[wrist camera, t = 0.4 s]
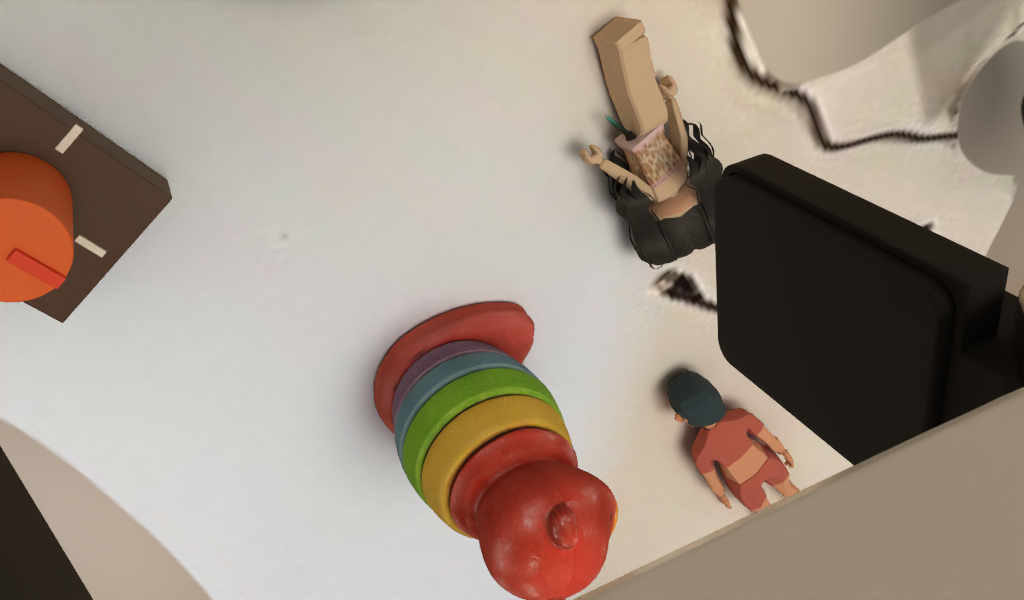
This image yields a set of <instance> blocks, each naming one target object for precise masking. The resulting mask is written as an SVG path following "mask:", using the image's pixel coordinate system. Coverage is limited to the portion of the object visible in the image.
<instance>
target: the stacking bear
mask: <svg viewBox="0 0 1024 600" xmlns="http://www.w3.org/2000/svg"><path fill="white" fill-rule="evenodd" d="M533 336H534V323H533V321H532V319H531V318H530V317H529V316H528V315H527V313H526V312H525V310H524V309H523V308H522V307H521V306H519V305H517V304H514V303H505V302H495V303H483V304H475V305H470V306H466V307H462V308H458V309H455V310H452V311H449V312H447V313H444V314H442V315H439V316H437V317H435V318H433V319H431V320H429V321H427V322H425V323H423V324H421V325H420V326H418V327H417V328H415V329H413V330H412V331H410V332H409V333H408V334H406V335H405V336H404V337H402V338H401V339H400V340H399V341H398V342H397V343H396V344H395V345H394V346H393V347H392V349H391V350H390V351H389V352H388V354H387V355H386V357H385V358H384V360H383V361H382V363H381V366H380V368H379V370H378V373H377V376H376V380H375V386H374V400H375V405H376V408H377V411H378V414H379V416H380V418H381V419H382V421H383V422H384V424H385V425H386V426H387V427H388V428H389V429H390V430H391V431H392V432H393V433H394V434H395V441H396V447H397V451H398V455H399V459H400V462H401V465H402V468H403V470H404V472H405V474H406V475H407V478H408V480H409V481H410V483H411V485H412V486H413V488H414V489H415V491H416V492H417V493H418V495H419V496H420V497H421V498H422V500H423V501H424V502H425V503H426V504H427V505H428V506H429V507H430V508H431V509H432V510H433V511H434V512H435V513H436V514H437V515H438V517H439V518H440V519H441V520H442V521H444V522H445V523H446V524H447V525H448V526H449V527H450V528H452V529H453V530H454V531H456V532H458V533H460V534H462V535H464V536H467V537H470V538H475V539H477V540H479V544H480V548H481V552H482V555H483V559H484V561H485V564H486V566H487V568H488V570H489V572H490V574H491V576H492V577H493V578H494V580H495V581H496V582H497V583H498V584H499V585H500V586H501V587H502V588H504V589H505V590H506V591H508V592H509V593H511V594H513V595H515V596H517V597H519V598H522V599H525V600H565V598H567V597H570V596H572V595H574V594H576V593H578V592H580V591H581V590H583V589H584V588H586V587H587V586H588V585H589V584H590V583H591V582H592V581H593V580H594V579H595V578H596V576H597V575H598V574H599V572H600V570H601V568H602V566H603V564H604V562H605V559H606V555H607V550H608V543H609V539H610V536H611V534H612V532H613V530H614V528H615V526H616V522H617V518H618V506H617V502H616V499H615V497H614V495H613V493H612V492H611V490H610V489H609V487H608V486H607V485H606V484H605V483H604V482H602V481H601V480H600V479H598V478H597V477H595V476H594V475H592V474H590V473H588V472H586V471H583V470H581V469H579V468H578V461H577V456H576V453H575V450H574V449H573V446H572V442H571V439H570V436H569V433H568V431H567V428H566V426H565V424H564V420H563V417H562V414H561V412H560V410H559V408H558V406H557V404H556V402H555V400H554V398H553V396H552V395H551V393H550V392H549V390H548V389H547V387H546V386H545V385H544V384H543V383H542V382H541V381H540V380H539V379H538V378H537V377H536V376H535V375H534V374H533V373H532V372H531V371H529V370H528V369H527V368H526V367H525V366H524V365H522V362H523V361H524V359H525V357H526V356H527V354H528V353H529V351H530V349H531V347H532V344H533Z"/></svg>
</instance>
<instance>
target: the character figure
mask: <svg viewBox="0 0 1024 600" xmlns="http://www.w3.org/2000/svg"><path fill="white" fill-rule="evenodd" d="M668 397H669V401H670V403H671V406H672V408H673V409H674V411H675V412H676V414H675V420H677V421H678V422H683V421H685V423H687V424H689V425H690V426H691V427H702V428H701V429H700V431H699V432H698V434H697V437H696V439H695V441H694V444H693V446H692V448H691V453H692V457H693V460H694V462H695V464H696V466H697V468H698V470H699V472H700V473H701V474H703V475H704V477H705V478H706V480H707V481H708V484H709V487H710V488H711V489H712V491H713V492H714V493H716V494H717V495H718V498H719V500H720V501H721V502H722V503H723V504H725V506H726V507H727V508H729V509H731V506H730V503H729V501H728V499H727V498H726V496H725V495H724V489H723V485H722V481H721V480H720V479H719V477H718V476H717V473H716V471H715V468H714V463H713V461H712V460H717V461H718V462H719V464H720V466H721V468H720V469H721V471H722V474H723V477H724V479H725V482H726V484H727V486H728V487H729V489H730V490H731V491H732V493H733V494H734V496H735V497H736V498H737V499H738V500H739V501H740V502H741V503H742V504H743V505H744V506H745V507H747V508H748V509H750V510H751V511H755V512H757V511H759V510H761V509H763V508H765V507H768V506H770V504H769V502H768V500H767V498H766V497H767V496H766V494H765V492H764V490H763V488H762V487H761V485H762V483H763V482H764V481H765V482H767V483H768V484H770V485H771V486H774V487H775V488H777V489H778V490H779V491H780V492H781V493H782V494H783V495H784V496H785V498H787V497H789V496H791V495H793V494H795V493H797V492H799V489H798V488H797V487H796V486H795V485H794V484H792V483H791V482H790V481H789V472H788V471H787V469H786V467H785V466H784V464H785V465H786V466H787V465H788V464H789V467H790V468H793V467H794V464H793V459H792V457H791V455H790V454H789V452H788V451H787V449H784V447H783V445H782V443H781V442H780V440H779V439H778V438H777V437H775V436H773V435H772V434H771V433H770V432H769V431H768V430H767V429H766V428H765V427H764V424H763V423H762V422H761V421H760V420H759V419H757V418H756V417H755V416H754V415H753V414H751V413H749V412H748V411H746V410H744V409H741V408H738V409H734V410H730V411H726V407H725V405H724V403H723V400H722V398H721V396H720V394H719V392H718V391H717V389H716V388H715V387H714V386H713V385H712V384H711V383H710V382H709V381H708V380H707V379H705V378H704V377H702V376H701V375H699V374H697V373H695V372H691V371H686V372H684V373H682V374H679V375H677V376H676V377H675V378H673V379H672V380H671V381H670V382H669V384H668ZM747 432H748V433H749V434H750V435H752V436H755V437H757V438H758V439H760V440H761V441H763V442H764V443H765V444H766V445H767V446H766V445H764V444H762V443H759V442H757V441H754V440H753V439H751V438H749V437H748V436H747ZM771 449H772V450H773V451H776V452H778V454H783V455H784V457H785V460H786V462H785V463H784V464H783V463H782V461H781V460H780V459H779V457H778V456H777V455H776V454H775V453H774V452H773V451H772V450H771Z"/></svg>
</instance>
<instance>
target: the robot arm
mask: <svg viewBox="0 0 1024 600" xmlns="http://www.w3.org/2000/svg"><path fill="white" fill-rule="evenodd" d="M714 218H715V251H716V284H717V316H718V341H719V346H720V349H721V351H722V353H723V355H724V357H725V358H726V360H727V361H728V362H729V363H730V364H731V365H732V366H733V367H734V368H736V369H737V370H738V371H739V372H741V373H742V374H743V375H744V376H745V377H747V378H748V379H749V380H750V381H752V382H753V383H754V384H755V385H756V386H758V387H759V388H760V389H761V390H763V391H764V392H765V393H766V394H767V395H769V396H770V397H771V398H772V399H774V400H775V401H776V402H777V403H778V404H780V405H781V406H782V407H783V408H785V409H786V410H787V411H788V412H789V413H791V414H792V415H793V416H794V417H796V418H797V419H798V420H799V421H800V422H802V423H803V424H804V425H805V426H806V427H808V428H809V429H810V430H811V431H813V432H814V433H815V434H816V435H817V436H819V437H820V438H821V439H822V440H824V441H825V442H826V443H827V444H828V445H830V446H831V447H832V448H833V449H835V450H836V451H837V452H838V453H839V454H841V455H842V456H843V457H844V458H846V459H847V460H848V461H849V462H850V463H852V464H853V465H854V466H852V467H850V468H848V469H846V470H844V471H842V472H839V473H837V474H835V475H833V476H831V477H829V478H827V479H825V480H823V481H820V482H818V483H816V484H814V485H812V486H810V487H808V488H806V489H804V490H801V491H799V492H797V493H795V494H793V495H791V496H789V497H787V498H785V499H782V500H780V501H778V502H776V503H774V504H772V505H770V506H768V507H765V508H763V509H761V510H759V511H757V512H755V513H753V514H751V515H749V516H747V517H745V518H742V519H740V520H738V521H736V522H734V523H732V524H730V525H728V526H726V527H724V528H722V529H720V530H717V531H715V532H713V533H711V534H709V535H707V536H705V537H703V538H701V539H699V540H697V541H695V542H692V543H690V544H688V545H686V546H684V547H682V548H680V549H678V550H676V551H674V552H672V553H669V554H667V555H665V556H663V557H661V558H659V559H657V560H655V561H653V562H651V563H649V564H647V565H644V566H642V567H640V568H638V569H636V570H634V571H632V572H630V573H628V574H626V575H624V576H622V577H620V578H617V579H615V580H613V581H611V582H609V583H607V584H605V585H603V586H601V587H599V588H597V589H595V590H593V591H590V592H588V593H586V594H584V595H582V596H580V597H578V598H576V599H574V600H1024V285H1023V287H1022V288H1021V289H1020V291H1019V296H1018V297H1017V296H1015V295H1013V294H1010V293H1009V292H1007V291H1005V287H1006V281H1007V276H1008V270H1009V268H1008V267H1006V266H1004V265H1002V264H1000V263H997V262H995V261H993V260H991V259H989V258H987V257H985V256H983V255H981V254H978V253H976V252H974V251H972V250H970V249H968V248H966V247H964V246H962V245H960V244H957V243H955V242H953V241H951V240H949V239H947V238H945V237H943V236H941V235H938V234H936V233H934V232H932V231H930V230H928V229H926V228H924V227H922V226H919V225H917V224H915V223H913V222H911V221H909V220H907V219H905V218H903V217H900V216H898V215H896V214H894V213H892V212H890V211H888V210H886V209H884V208H881V207H879V206H877V205H875V204H873V203H871V202H869V201H867V200H865V199H862V198H860V197H858V196H856V195H854V194H852V193H850V192H848V191H846V190H843V189H841V188H839V187H837V186H835V185H833V184H831V183H829V182H827V181H825V180H822V179H820V178H818V177H816V176H814V175H812V174H810V173H808V172H806V171H803V170H801V169H799V168H797V167H795V166H793V165H791V164H789V163H787V162H784V161H782V160H780V159H778V158H776V157H774V156H772V155H769V154H761V155H758V156H755V157H752V158H749V159H746V160H743V161H740V162H738V163H735V164H732V165H729V166H727V167H726V168H725V169H724V171H723V173H722V176H721V179H720V180H718V181H717V182H716V184H715V187H714ZM0 600H93V599H92V597H91V595H90V594H89V592H88V590H87V589H86V587H85V585H84V584H83V582H82V581H81V579H80V577H79V575H78V574H77V572H76V571H75V569H74V567H73V565H72V564H71V562H70V560H69V559H68V557H67V556H66V554H65V552H64V551H63V549H62V547H61V546H60V544H59V542H58V541H57V539H56V537H55V536H54V534H53V532H52V531H51V529H50V528H49V526H48V524H47V522H46V521H45V519H44V518H43V516H42V514H41V512H40V511H39V509H38V508H37V506H36V505H35V503H34V501H33V499H32V498H31V496H30V494H29V493H28V491H27V489H26V488H25V486H24V484H23V483H22V481H21V480H20V478H19V476H18V474H17V473H16V471H15V469H14V468H13V466H12V465H11V463H10V461H9V460H8V458H7V456H6V455H5V453H4V451H3V450H2V448H1V446H0Z"/></svg>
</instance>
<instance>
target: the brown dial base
mask: <svg viewBox="0 0 1024 600" xmlns="http://www.w3.org/2000/svg"><path fill="white" fill-rule="evenodd" d="M3 152H17V153H24V154H28V155H32V156H35V157H37V158H40V159H42V160H44V161H45V162H47V163H49V164H50V165H51V166H53V167H54V168H55V169H56V170H57V171H58V172H59V173H60V174H61V175H62V176H63V177H64V179H65V180H66V182H67V184H68V186H69V188H70V191H71V195H72V203H73V241H74V257H73V262H72V266H71V268H70V271H69V272H68V274H67V276H66V280H65V281H64V282H63V283H62V284H61V285H60V287H59V288H58V289H56V288H54V289H53V290H52V291H50V292H48V293H47V294H45V295H43V296H40V297H38V298H35V299H32V300H27V301H23V302H24V303H26V304H28V305H30V306H32V307H34V308H36V309H37V310H39V311H41V312H43V313H45V314H47V315H49V316H51V317H52V318H54V319H56V320H58V321H60V322H62V323H63V322H64V321H65V320H66V319H67V318H68V317H69V315H70V314H71V313H72V312H73V311H74V310H75V309H76V308H77V306H78V305H79V304H80V303H81V302H82V301H83V300H84V298H85V297H86V296H87V295H88V294H89V293H90V292H91V290H92V289H93V288H94V287H95V286H96V285H97V284H98V282H99V281H100V280H101V279H102V278H103V277H104V276H105V274H106V273H107V272H108V271H109V270H110V269H111V268H112V266H113V265H114V264H115V263H116V262H117V261H118V260H119V259H120V257H121V256H122V255H123V254H124V253H125V252H126V251H127V249H128V248H129V247H130V246H131V245H132V244H133V243H134V241H135V240H136V239H137V238H138V237H139V236H140V235H141V233H142V232H143V231H144V230H145V229H146V228H147V227H148V225H149V224H150V223H151V222H152V221H153V220H154V219H155V218H156V216H157V215H158V214H159V213H160V212H161V211H162V210H163V208H164V207H165V206H166V205H167V204H168V203H169V202H170V200H171V199H172V196H171V192H170V188H169V185H168V181H167V179H165V178H164V177H162V176H161V175H159V174H158V173H157V172H155V171H154V170H152V169H151V168H149V167H148V166H147V165H145V164H144V163H142V162H141V161H139V160H138V159H136V158H135V157H134V156H132V155H131V154H129V153H128V152H126V151H125V150H124V149H122V148H121V147H119V146H118V145H116V144H115V143H114V142H112V141H111V140H109V139H108V138H106V137H105V136H103V135H102V134H101V133H99V132H98V131H96V130H95V129H93V128H92V127H91V126H89V125H88V124H86V123H85V122H83V121H82V120H80V119H79V118H78V117H76V116H75V115H73V114H72V113H70V112H69V111H68V110H66V109H65V108H63V107H62V106H60V105H59V104H58V103H56V102H55V101H53V100H52V99H50V98H49V97H47V96H46V95H45V94H43V93H42V92H40V91H39V90H37V89H36V88H35V87H33V86H32V85H30V84H29V83H27V82H26V81H25V80H23V79H22V78H20V77H19V76H17V75H16V74H14V73H13V72H12V71H10V70H9V69H7V68H6V67H4V66H3V65H2V64H0V153H3Z"/></svg>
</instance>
